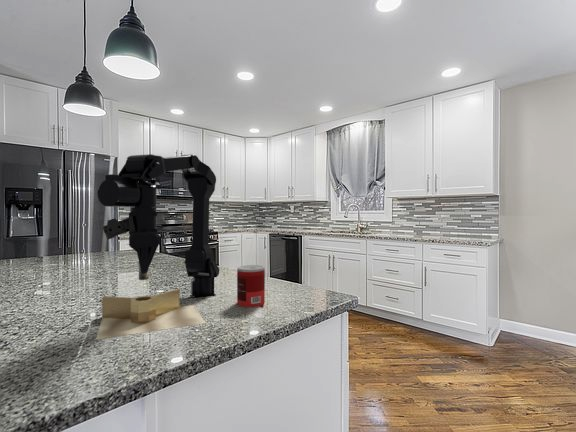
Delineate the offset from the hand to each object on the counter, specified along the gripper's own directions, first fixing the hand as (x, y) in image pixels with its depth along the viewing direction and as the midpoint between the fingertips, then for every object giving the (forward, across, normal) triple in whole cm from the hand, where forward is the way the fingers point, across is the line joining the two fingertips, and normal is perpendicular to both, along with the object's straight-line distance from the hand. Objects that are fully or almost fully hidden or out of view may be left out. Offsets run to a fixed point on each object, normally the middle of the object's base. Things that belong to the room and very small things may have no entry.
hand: (143, 272), depth 76 cm
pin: (+2, 0, 0) cm, 2 cm away
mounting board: (+12, +1, +2) cm, 12 cm away
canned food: (+12, -2, +28) cm, 31 cm away
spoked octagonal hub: (+11, -2, 0) cm, 12 cm away
